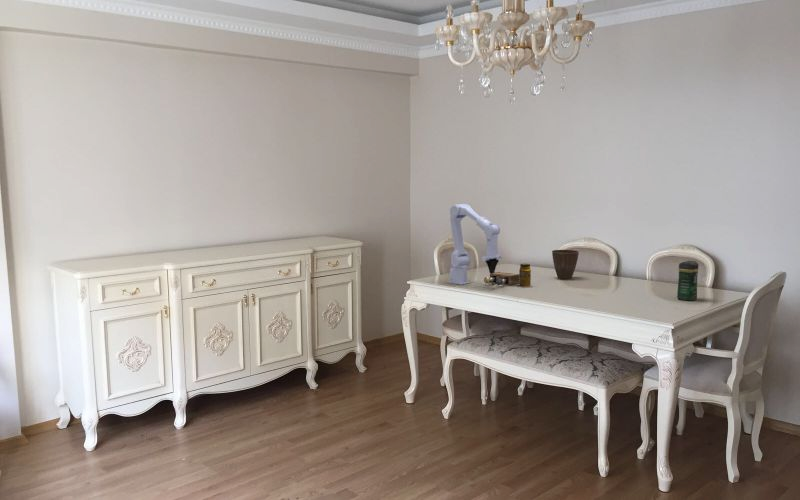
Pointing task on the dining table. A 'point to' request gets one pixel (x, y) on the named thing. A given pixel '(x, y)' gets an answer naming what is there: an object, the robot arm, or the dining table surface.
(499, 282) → the black knob
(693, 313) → the dining table surface
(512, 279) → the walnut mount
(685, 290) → the coffee jar
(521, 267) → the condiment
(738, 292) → the dining table surface
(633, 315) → the dining table surface
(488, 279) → the brass knob
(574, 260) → the plant pot
